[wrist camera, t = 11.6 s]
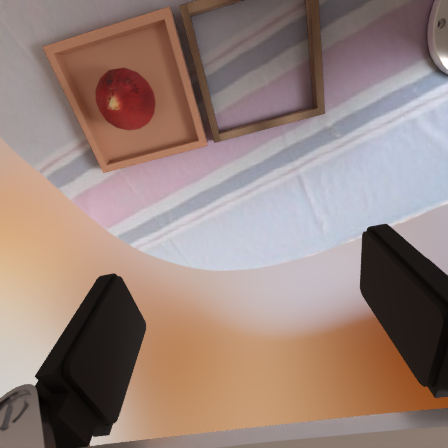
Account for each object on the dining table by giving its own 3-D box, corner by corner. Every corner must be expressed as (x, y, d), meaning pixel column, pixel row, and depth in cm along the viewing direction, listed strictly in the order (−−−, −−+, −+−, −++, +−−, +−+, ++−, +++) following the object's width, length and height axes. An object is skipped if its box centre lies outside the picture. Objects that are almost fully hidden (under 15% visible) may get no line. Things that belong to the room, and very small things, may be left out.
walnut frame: (311, -32, 26) (316, -38, 24) (320, 112, 32) (324, 113, 31) (180, 9, 27) (179, 5, 26) (214, 140, 33) (214, 142, 32)
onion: (104, 75, 29) (66, 69, 22) (154, 66, 29) (132, 57, 22) (121, 129, 32) (92, 140, 24) (167, 122, 31) (151, 130, 24)
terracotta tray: (172, 12, 27) (169, 6, 25) (207, 142, 33) (207, 145, 31) (54, 49, 28) (42, 46, 26) (109, 168, 34) (103, 173, 32)
